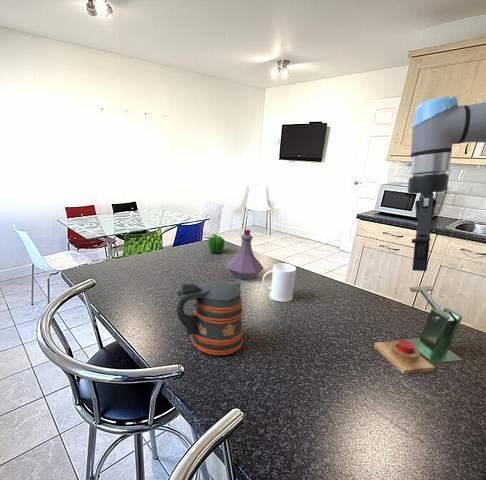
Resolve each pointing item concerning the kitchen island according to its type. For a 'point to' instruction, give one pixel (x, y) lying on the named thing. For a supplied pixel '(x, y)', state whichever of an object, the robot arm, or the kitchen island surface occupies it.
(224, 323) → the beer stein
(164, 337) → the kitchen island surface
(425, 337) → the bracket
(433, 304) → the lever
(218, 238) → the bell pepper
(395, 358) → the button block
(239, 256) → the flask
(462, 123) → the robot arm
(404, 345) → the button
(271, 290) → the mug
